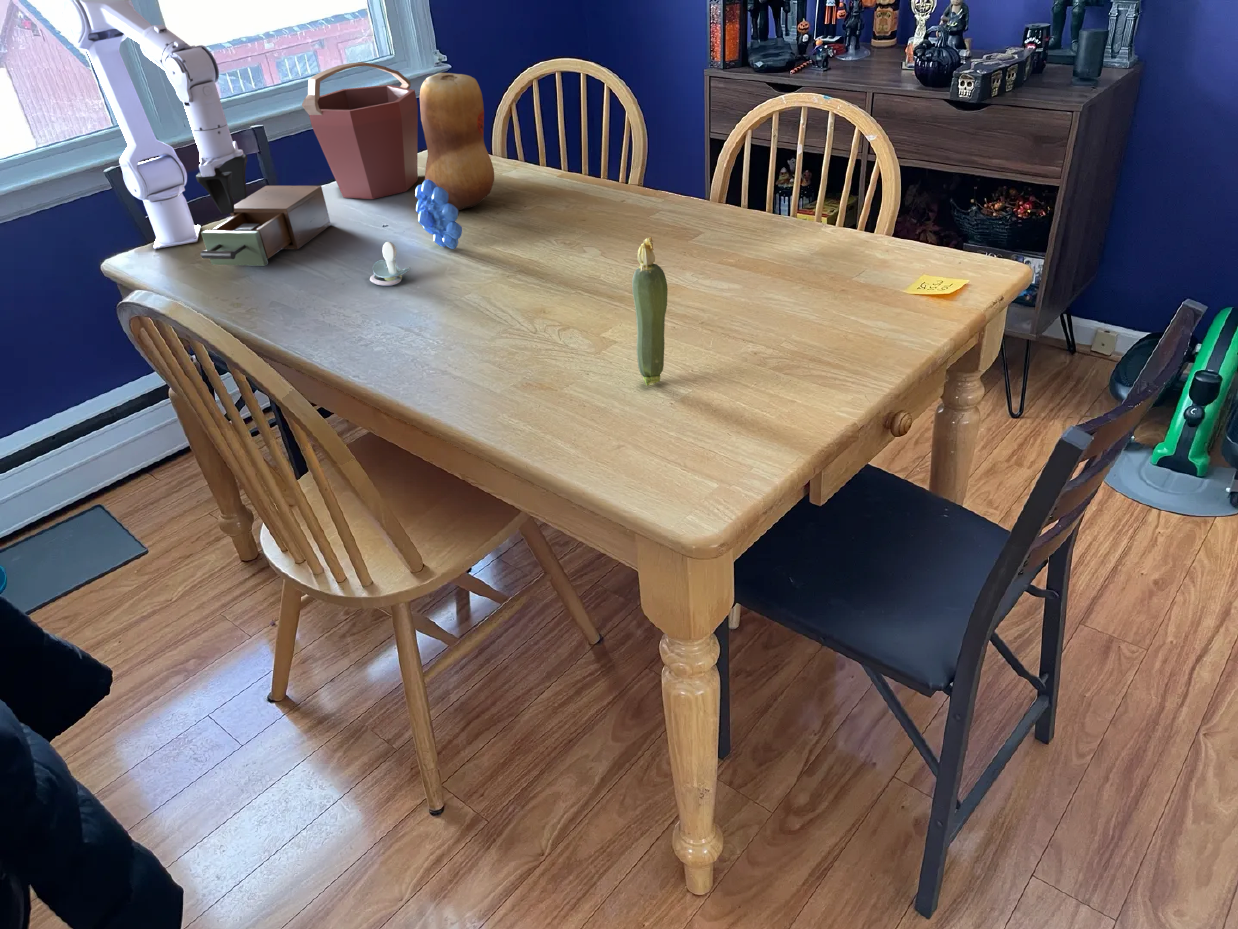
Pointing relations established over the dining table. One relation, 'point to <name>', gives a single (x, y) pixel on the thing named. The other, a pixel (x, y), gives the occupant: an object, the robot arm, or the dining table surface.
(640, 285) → the vegetable
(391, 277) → the pacifier
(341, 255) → the dining table surface
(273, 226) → the drawer
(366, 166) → the bucket
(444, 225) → the grapes
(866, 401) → the dining table surface
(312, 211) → the cabinet
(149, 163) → the robot arm
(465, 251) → the dining table surface
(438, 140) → the butternut squash
